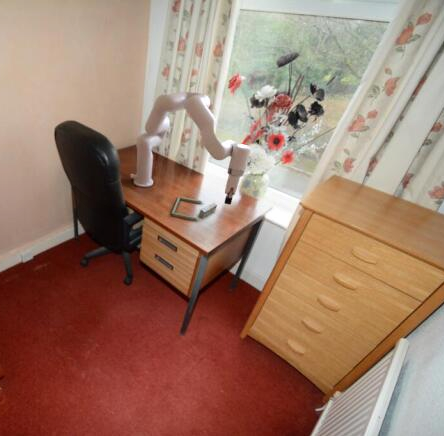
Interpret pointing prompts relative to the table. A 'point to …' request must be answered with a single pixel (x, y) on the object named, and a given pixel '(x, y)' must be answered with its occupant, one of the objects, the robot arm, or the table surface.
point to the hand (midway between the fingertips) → (227, 203)
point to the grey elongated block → (207, 210)
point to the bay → (182, 214)
